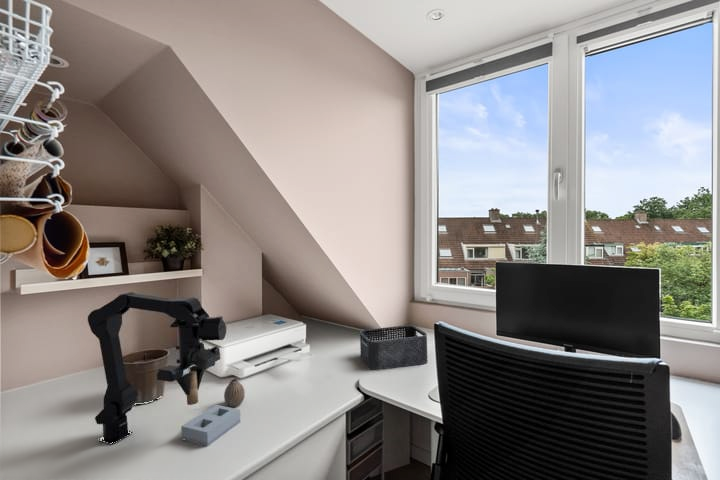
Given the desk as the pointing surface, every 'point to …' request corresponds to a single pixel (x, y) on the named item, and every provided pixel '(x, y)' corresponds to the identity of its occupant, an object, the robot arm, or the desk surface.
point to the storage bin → (393, 347)
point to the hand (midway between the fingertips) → (192, 392)
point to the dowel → (193, 389)
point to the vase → (234, 393)
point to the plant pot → (146, 372)
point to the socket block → (210, 425)
